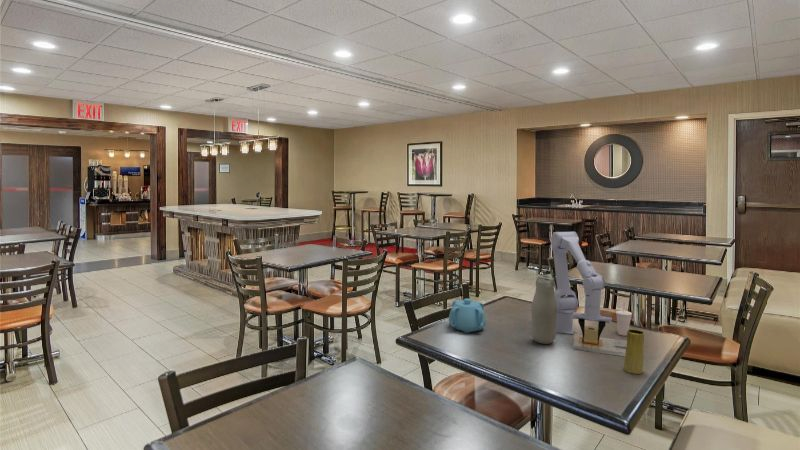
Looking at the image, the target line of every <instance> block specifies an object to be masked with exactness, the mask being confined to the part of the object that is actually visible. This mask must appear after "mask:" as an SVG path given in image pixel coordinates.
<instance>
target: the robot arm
mask: <svg viewBox="0 0 800 450" xmlns="http://www.w3.org/2000/svg"><path fill="white" fill-rule="evenodd" d="M550 242H551V243H550V244H551V250H552V252H553V262H554V269H555V277H556V278H555V280H556V288H557V289H556V290H554V291H555V297H556V300H557V306H558V307H557V327H556V333H560V334H567V335H573V334H574V327H573V323H574V322H573V320H577V321H578V325H579V327H580V331H581V335H583V338H584V331H585V326H586V324H585V323H586V322H585V321H590V322H591V321H593V322H598V324H597V327H598V340H599V338H600V337H601V334H602V333H603V330H604V328H605V327H606V325H607V324H606V323H608V324H612V323H613V319H612V317H609V316H606V315H605V316H604V315H601V303H602V301H601V299H602V290H604V288H605V286H606V281H605V278H604V277H603V276H602V275H601V274H599V273H598V272H597V271H596V270H595V268H594V267H593V264H592V263H591V261H590V260H588V259H586V257H585V255H584V253H583V251H582V248H581V246H580V245H579V242H580V238H579V235H578V234H577V232H576V231H574V230H573V231H555V232H553V233H552V235H551V237H550ZM568 252H569V253H570V254H571V255H572V257H573V259H574V260H575V261H576V263H577V265H576V268H577V270H578V273H579V274H580V276H581V279H583V281H582V286H583V292H584V297H585V298H584V313H576V310H577V309H578V306H579V301H578V298H577V295H576V292H575V291H574V290H572V289H571V285H570V284H571V283H570V275H569V267H568V260H567V253H568Z"/></svg>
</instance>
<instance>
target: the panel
mask: <svg viewBox="0 0 800 450" xmlns="http://www.w3.org/2000/svg"><path fill="white" fill-rule="evenodd" d="M626 345H627V340H625V339H624V340H623V339H616V338H608V337H601V336H600V338H599V340H598V344H597V345H592V344H585V343H584V338H583V335H582V334H578V333H574V336H573V348H572V350H579V351H584V352H592V353H596V354H597V353H598V354H605V355H611V356H618V357H624V358H625V355H626Z"/></svg>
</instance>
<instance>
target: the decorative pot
mask: <svg viewBox="0 0 800 450" xmlns="http://www.w3.org/2000/svg"><path fill="white" fill-rule="evenodd" d="M451 306H452V307H451V309H450V311H449V314H448V322H449V325H450V326H451V327H452V328H453V329H455V330H458V331H462V332H463V333H465V334H469V333H471V332H477V331H480V330H483V328H484V327H486V323H487V320H486V318H487V317H486V314H485V311H484V307H485V306H484V303H482V302H481V301H473V300H472V299H471V298H463V300H454V301H453V302H452V305H451Z"/></svg>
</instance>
